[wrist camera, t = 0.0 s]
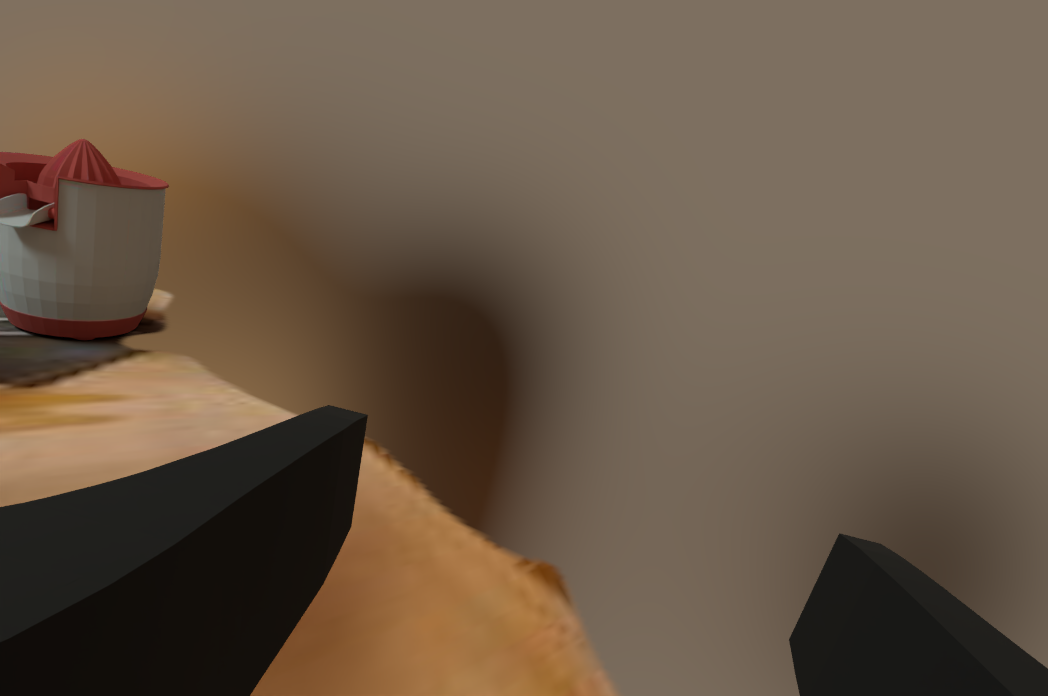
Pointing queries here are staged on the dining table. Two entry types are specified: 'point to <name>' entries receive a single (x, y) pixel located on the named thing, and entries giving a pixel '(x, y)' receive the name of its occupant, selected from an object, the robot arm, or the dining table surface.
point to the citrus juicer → (77, 242)
